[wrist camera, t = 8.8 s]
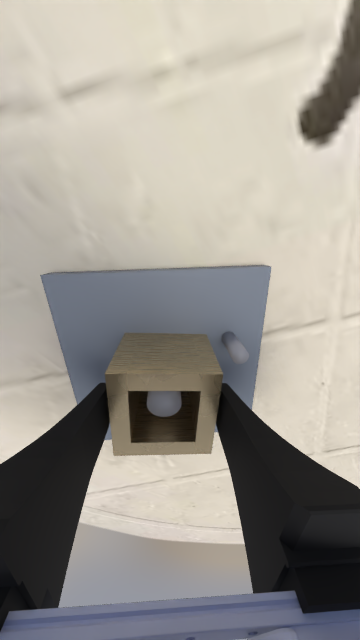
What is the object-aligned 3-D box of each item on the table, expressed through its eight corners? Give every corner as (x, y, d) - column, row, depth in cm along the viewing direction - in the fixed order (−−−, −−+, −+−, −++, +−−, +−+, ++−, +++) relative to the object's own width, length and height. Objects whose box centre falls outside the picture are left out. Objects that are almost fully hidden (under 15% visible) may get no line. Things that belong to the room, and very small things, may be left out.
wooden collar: (129, 413, 16) (115, 473, 12) (124, 332, 13) (104, 373, 9) (198, 412, 16) (208, 471, 12) (206, 334, 14) (223, 374, 9)
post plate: (92, 430, 18) (68, 488, 13) (49, 272, 13) (-10, 287, 8) (244, 420, 18) (267, 472, 14) (264, 265, 13) (308, 275, 9)
